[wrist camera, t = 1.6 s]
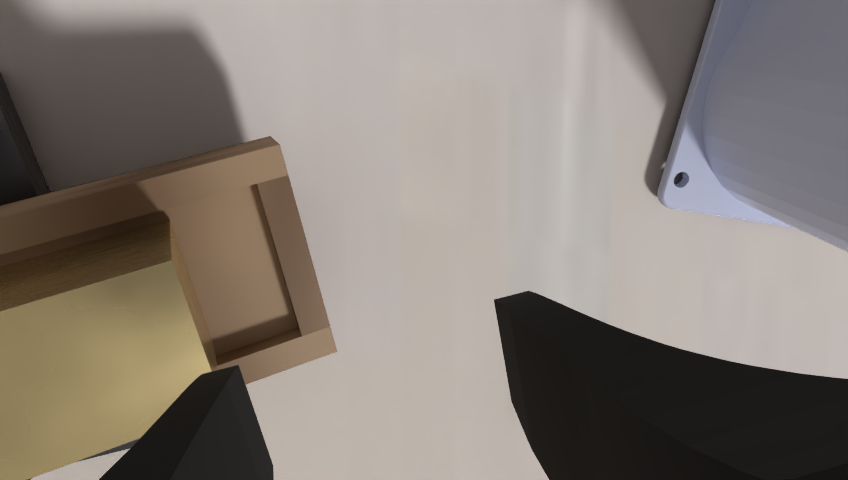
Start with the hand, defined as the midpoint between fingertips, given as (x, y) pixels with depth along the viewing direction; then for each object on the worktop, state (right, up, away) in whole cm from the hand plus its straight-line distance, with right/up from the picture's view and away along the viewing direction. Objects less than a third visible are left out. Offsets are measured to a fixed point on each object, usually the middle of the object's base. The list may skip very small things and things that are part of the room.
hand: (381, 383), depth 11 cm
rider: (-8, 0, +5) cm, 10 cm away
